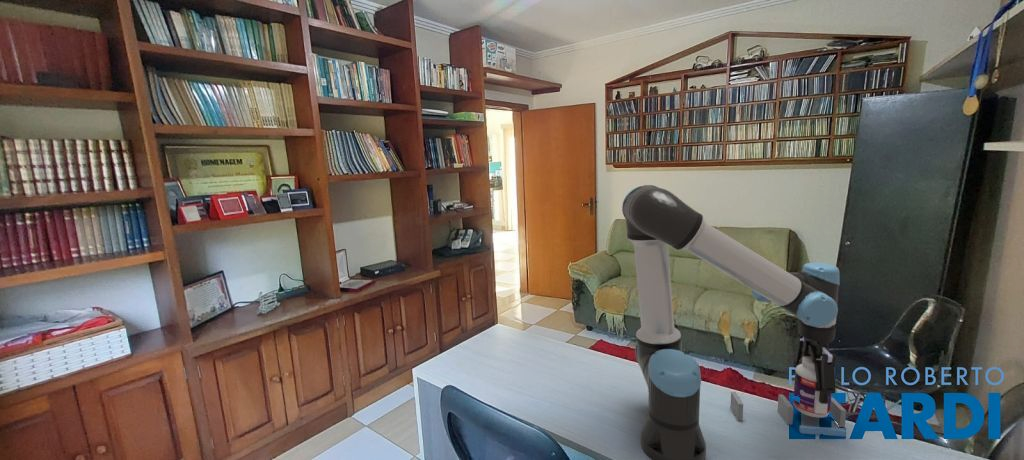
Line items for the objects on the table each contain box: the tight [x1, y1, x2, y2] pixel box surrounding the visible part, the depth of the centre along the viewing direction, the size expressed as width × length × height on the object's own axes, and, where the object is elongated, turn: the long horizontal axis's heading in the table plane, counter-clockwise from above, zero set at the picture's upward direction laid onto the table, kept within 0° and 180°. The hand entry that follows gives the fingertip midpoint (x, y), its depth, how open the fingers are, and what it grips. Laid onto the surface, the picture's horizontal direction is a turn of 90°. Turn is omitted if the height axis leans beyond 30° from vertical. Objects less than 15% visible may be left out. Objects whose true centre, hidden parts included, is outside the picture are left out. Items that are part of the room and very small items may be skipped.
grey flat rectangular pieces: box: [730, 391, 847, 437], centre depth 109 cm, size 10×26×5 cm, turn 79°
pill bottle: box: [792, 356, 833, 419], centre depth 109 cm, size 8×8×14 cm
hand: (811, 402), depth 109 cm, fingers closed on pill bottle, 8 cm apart
